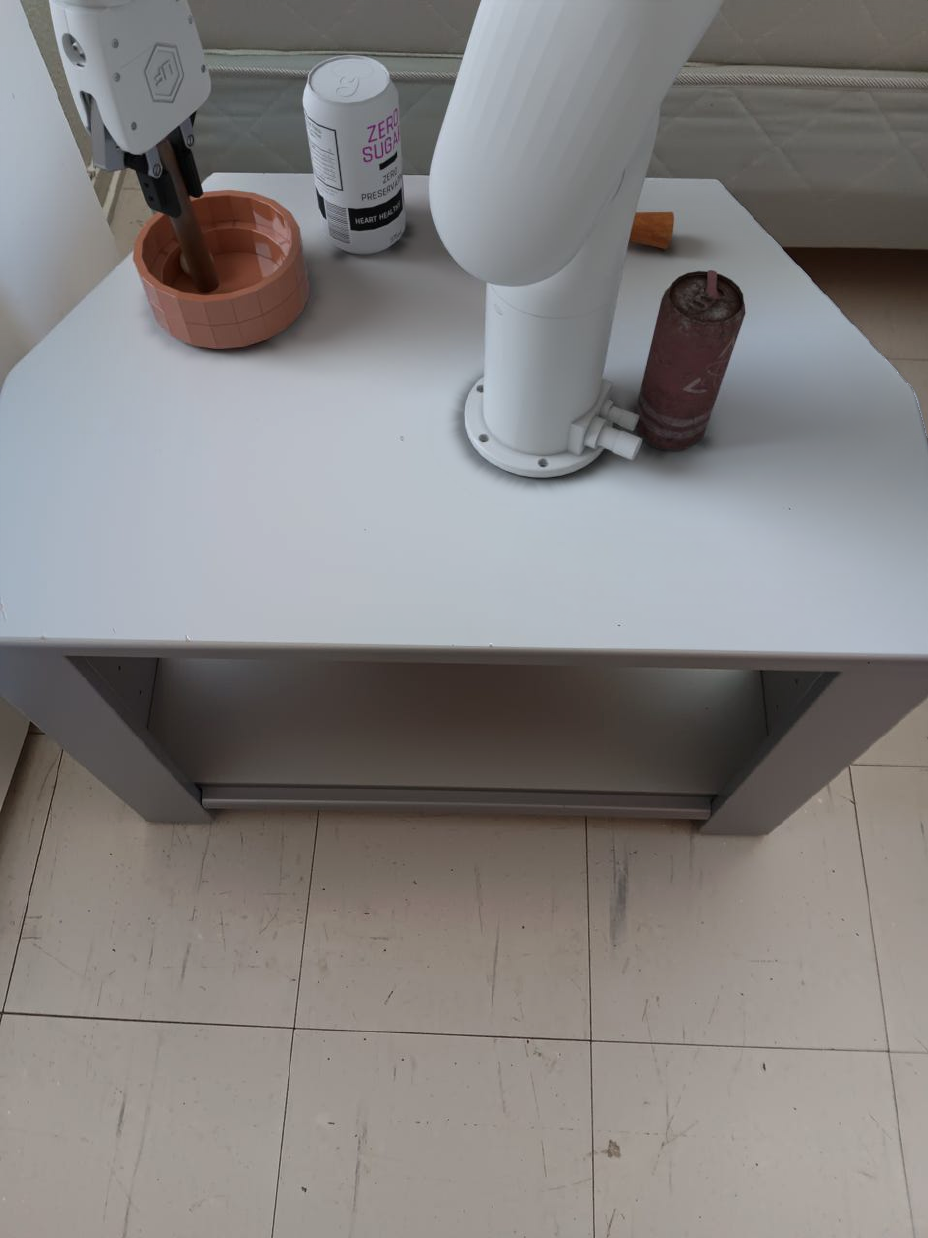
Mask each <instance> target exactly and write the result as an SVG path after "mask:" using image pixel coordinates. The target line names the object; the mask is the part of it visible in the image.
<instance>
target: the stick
mask: <svg viewBox="0 0 928 1238" xmlns="http://www.w3.org/2000/svg"><path fill="white" fill-rule="evenodd" d="M156 147H157V150H158V154H159V157H160V161H161V164H162V169H164V170H167V171H169V173H170V174H171V177H172V180H173V184H174V187H175V190H176V193H177V197H178V200H179V203H180V206H181V210H182V212H181V213H182V214H181V215H180V216H179V217H178V218H173V217H171V216H169V218H170V221H171V223H172V226H173V229H174V231H175V234H176V237H177V239H178V242H179V245H180V247H181V250H182V253H183V255H184V258H185V261H186V263H187V266H188V269H189V271H190V274H191V277H192V279H193V282H194V285H195V287H196V289H197V291H199V292H201V293H210V292H213V291H214V290H216V289H217V288H218V287H219V279H218V277H217V274H216V271H215V268H214V265H213V262H212V259H211V256H210V253H209V251H208V248H207V245H206V242H205V239H204V236H203V233H202V230H201V228H200V225H199V222H198V219H197V216H196V213H195V210H194V207H193V205H192V202H191V199H190V196H189V193H188V190H187V187H186V184H185V182H184V179H183V176H182V173H181V170H180V167H179V164H178V161H177V159H176V156H175V153H174V150H173V147H172V144H171V141H170V138H169V136H168V135H167V136H166V137H165V138H163V139H162V140H161V141H160V142H159V143H157V144H156Z"/></svg>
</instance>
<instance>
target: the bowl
mask: <svg viewBox="0 0 928 1238" xmlns="http://www.w3.org/2000/svg"><path fill="white" fill-rule="evenodd" d="M190 199H191V202H192V205H193V207H194V210H195V213H196V216H197V219H198V222H199V225H200V228H201V230H202V233H203V236H204V239H205V242H206V245H207V248H208V251H209V252H210V253H211V255H212V258H213V265H214V268H215V271H216V274H217V277H218V279H219V287H218V288H217V289H216V290H214V291H213V292H210V293H201V292H199V291H197V289H196V287H195V285H194V282H193V279H192V277H190V276H188V275H187V274H186V273H185V272H184V271H183V269H182V267H181V264H180V255H181V252H182V250H181V247H180V245H179V242H178V239H177V237H176V234H175V231H174V229H173V226H172V223H171V221H170V218H169V216H168V215H165V214H163V213H160V212H158V211H156V212H155V213H154V214H153V215H152V216H151V217H150V218H149V219H148V220H147V221H146V222H145V223H144V224H143V225H142V226H141V229H140V230H139V232H138V234H137V236H136V238H135V239H134V241H133V251H132V261H133V264H134V267H135V269H136V272H137V274H138V277H139V280H140V283H141V285H142V288H143V291H144V293H145V296H146V298H147V301H148V303H149V306H150V309H151V311H152V313H153V316H154V318H155V320H156V322H157V324H158V326H159V327H161V328H162V329H163V330H164V331H165V332H167V334H169V335H170V336H171V337H172V338H175V339H177V340H179V341H182V342H183V343H184V342H185V343H186V344H189V345H191V346H194V347H200V348H207V349H216V350H222V349H234V348H244V347H247V346H251V345H254V344H258V343H260V342H263V341H266V340H268V339H271V338H272V337H274V336H275V335H277V334H279V333H281V332H282V331H284V330H285V329H287V328H289V327H290V326H291V324H293V322H294V321H296V319H297V318H298V317H299V315H300V314H301V313H302V312H303V311H304V308H305V306H306V303H307V301H308V298H309V296H310V279H309V273H308V266H307V260H306V256H305V250H304V244H303V238H302V232H301V227H300V226H299V224H298V222H297V221H296V219H295V217H294V216H293V214H292V213H291V212H290V210H288V209H287V208H286V207H284V205H281V203H279V202H277V201H276V200H275V199H272V198H270V197H266V196H264V195H261V194H259V193H256V192H251V191H244V190H243V191H242V190H235V189H223V190H211V191H203V195H202V196H201V197H200V198H194V197H191V196H190Z"/></svg>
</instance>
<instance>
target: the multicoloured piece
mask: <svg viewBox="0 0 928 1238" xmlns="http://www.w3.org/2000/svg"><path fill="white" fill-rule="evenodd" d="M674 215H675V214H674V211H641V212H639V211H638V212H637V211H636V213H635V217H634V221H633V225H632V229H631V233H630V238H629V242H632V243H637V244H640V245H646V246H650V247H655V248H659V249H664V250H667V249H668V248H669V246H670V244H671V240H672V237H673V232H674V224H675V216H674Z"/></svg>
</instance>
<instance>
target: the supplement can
mask: <svg viewBox="0 0 928 1238" xmlns="http://www.w3.org/2000/svg"><path fill="white" fill-rule="evenodd" d="M306 81H307V82H306V84H305V86H304V90H303V95H302V106H303V113H304V119H305V120H304V121H305V127H306V132H307V139H308V140H307V141H308V147H309V152H310V159H311V166H312V171H313V178H314V185H315V193H316V198H317V204H318V205H317V206H318V211H319V218H320V225H321V230H322V232H323V234H324V237H325V239H326V240H327V241H329V242H330V243H331V244H332V245H333V246H335V247H336V248H338V249H340V250H342V251H344V252H347V253H350V254H356V255H371V254H377V253H380V252H381V251H385V250H387V249H389V248H390V247H391V246H392V245H393V244H395V243H396V242H397V241H398V240H399V239H400V238H401V237H402V235H403V233H404V232H405V230H406V221H407V219H406V205H405V190H404V189H405V186H404V171H403V154H402V140H401V139H402V138H401V123H400V121H401V120H400V105H399V104H400V103H399V90H398V89H397V87H396V85H395V84H394V82H393V80H392V78H391V77H390V73H389V71H388V69H387V67H386V66H385V65H384V64H382V63H381V62H380V61H378V60H376V59H374V58H370V57H369V56H365V55H355V54H347V55H346V54H345V55H337V56H334V57H331V58H328V59H324V60H323V61H321V62H319V63H317V64H316V65H314V66H313V68H312V69H311V70H310V72H309V73H308V74H307V80H306Z"/></svg>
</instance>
